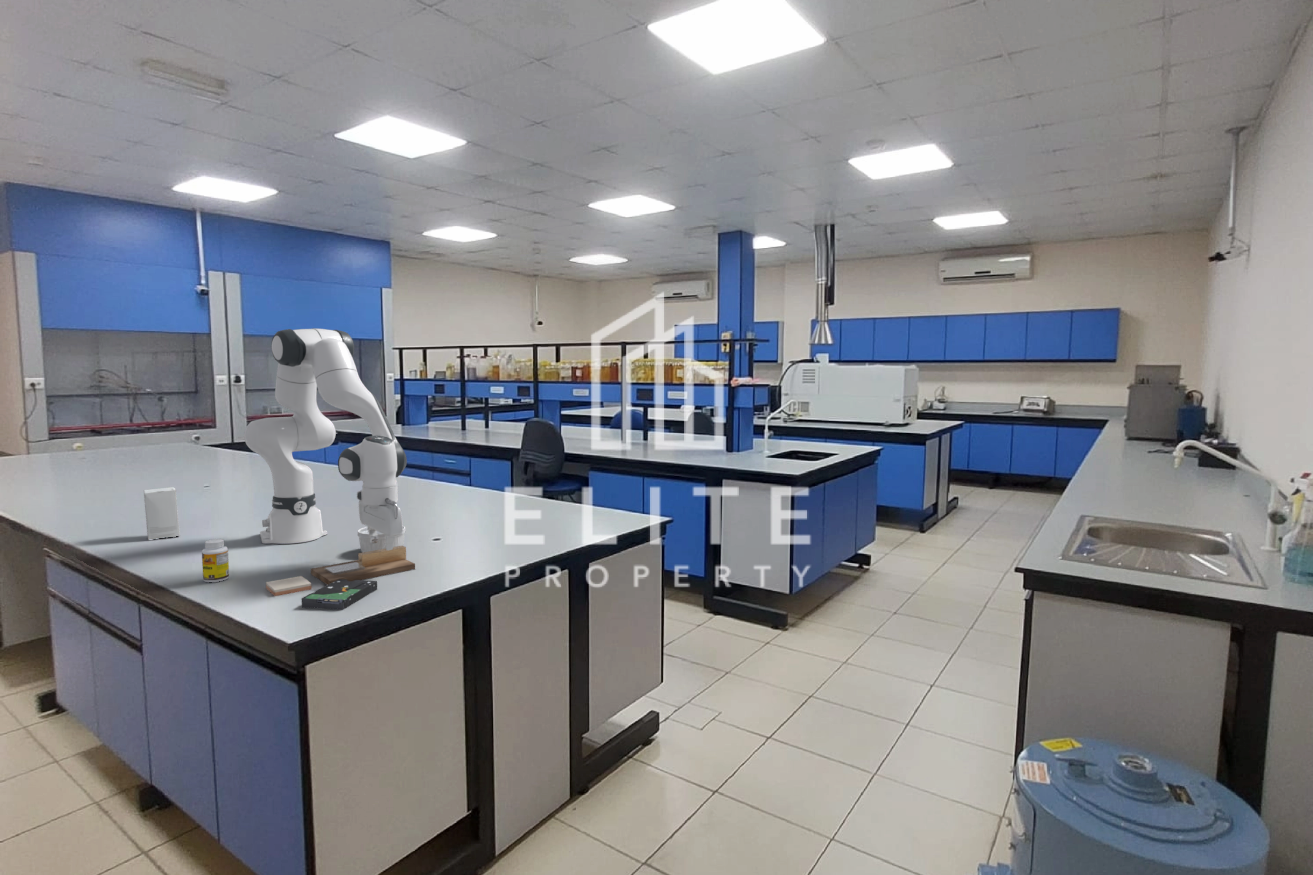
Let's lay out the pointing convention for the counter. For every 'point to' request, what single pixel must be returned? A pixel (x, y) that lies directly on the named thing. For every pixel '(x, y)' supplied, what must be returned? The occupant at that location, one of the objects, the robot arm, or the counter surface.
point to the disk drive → (339, 594)
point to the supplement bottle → (215, 561)
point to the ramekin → (369, 546)
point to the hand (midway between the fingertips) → (381, 546)
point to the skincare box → (161, 513)
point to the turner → (370, 560)
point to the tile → (288, 585)
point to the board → (363, 571)
